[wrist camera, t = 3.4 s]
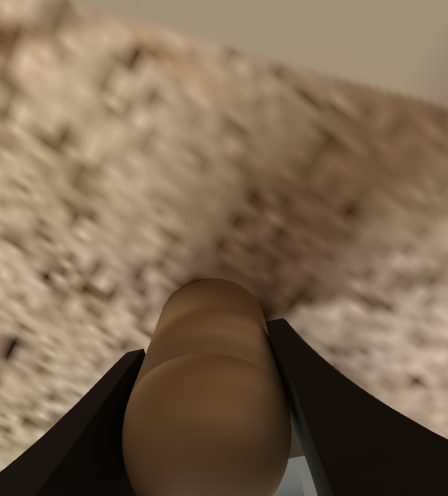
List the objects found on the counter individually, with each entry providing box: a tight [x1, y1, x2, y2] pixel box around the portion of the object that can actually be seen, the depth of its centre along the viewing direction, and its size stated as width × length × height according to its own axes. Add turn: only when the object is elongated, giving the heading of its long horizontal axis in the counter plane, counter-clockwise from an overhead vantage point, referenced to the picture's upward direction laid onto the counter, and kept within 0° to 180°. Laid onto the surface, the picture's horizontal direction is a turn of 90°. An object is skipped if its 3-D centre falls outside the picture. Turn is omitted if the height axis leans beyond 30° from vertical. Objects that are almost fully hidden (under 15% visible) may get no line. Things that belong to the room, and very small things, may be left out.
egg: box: [122, 279, 292, 496], centre depth 9 cm, size 4×4×7 cm
